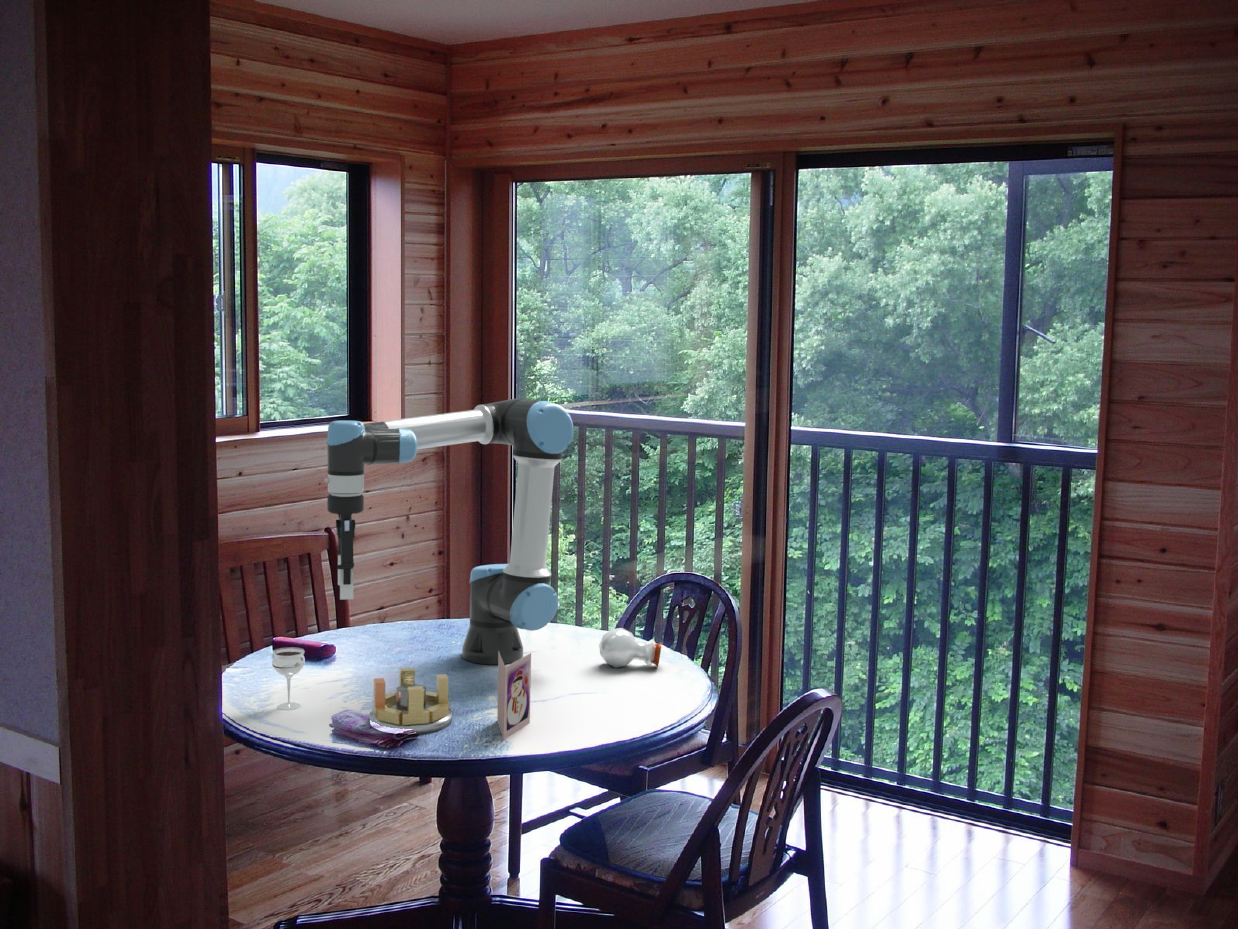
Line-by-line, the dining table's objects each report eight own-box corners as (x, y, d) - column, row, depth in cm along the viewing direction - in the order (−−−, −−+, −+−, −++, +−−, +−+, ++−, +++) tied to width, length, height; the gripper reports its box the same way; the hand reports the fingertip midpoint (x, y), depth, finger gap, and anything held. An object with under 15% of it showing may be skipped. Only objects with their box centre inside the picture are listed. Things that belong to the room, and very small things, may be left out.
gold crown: (441, 698, 258) (441, 666, 257) (452, 721, 244) (453, 687, 243) (370, 703, 253) (370, 670, 252) (378, 726, 239) (378, 692, 238)
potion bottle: (595, 669, 294) (655, 678, 294) (597, 655, 285) (659, 665, 285) (600, 633, 298) (660, 643, 298) (602, 619, 290) (663, 629, 289)
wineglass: (287, 713, 251) (287, 658, 250) (265, 707, 255) (265, 652, 253) (311, 705, 257) (311, 651, 255) (289, 699, 260) (289, 645, 259)
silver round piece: (445, 705, 259) (445, 673, 258) (458, 731, 243) (458, 698, 242) (365, 710, 254) (365, 678, 253) (373, 738, 238) (373, 704, 237)
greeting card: (507, 740, 239) (508, 667, 237) (475, 734, 242) (476, 662, 240) (533, 723, 249) (534, 653, 248) (502, 717, 252) (503, 648, 250)
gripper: (325, 485, 264) (325, 579, 267) (329, 503, 240) (328, 606, 243) (360, 485, 266) (360, 578, 269) (367, 502, 242) (366, 604, 245)
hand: (345, 591), depth 256 cm, fingers open, 13 cm apart
